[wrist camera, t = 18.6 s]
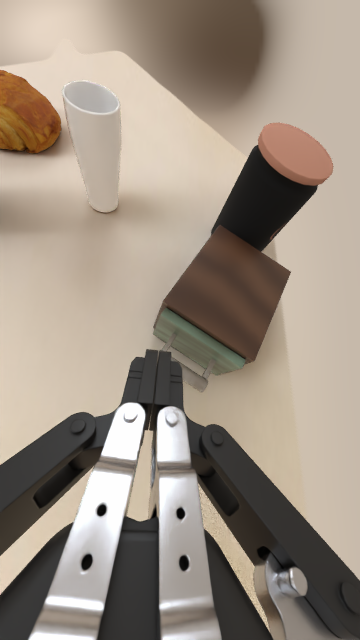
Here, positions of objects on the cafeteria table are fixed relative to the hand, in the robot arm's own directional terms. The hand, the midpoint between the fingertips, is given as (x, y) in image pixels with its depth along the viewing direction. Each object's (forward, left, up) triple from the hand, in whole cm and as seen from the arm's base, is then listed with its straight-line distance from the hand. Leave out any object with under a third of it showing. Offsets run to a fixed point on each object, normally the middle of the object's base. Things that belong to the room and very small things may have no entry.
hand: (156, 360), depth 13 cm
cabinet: (+11, +12, -18) cm, 24 cm away
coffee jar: (+17, +28, -18) cm, 37 cm away
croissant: (-26, +46, -18) cm, 56 cm away
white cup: (-9, +32, -18) cm, 38 cm away
